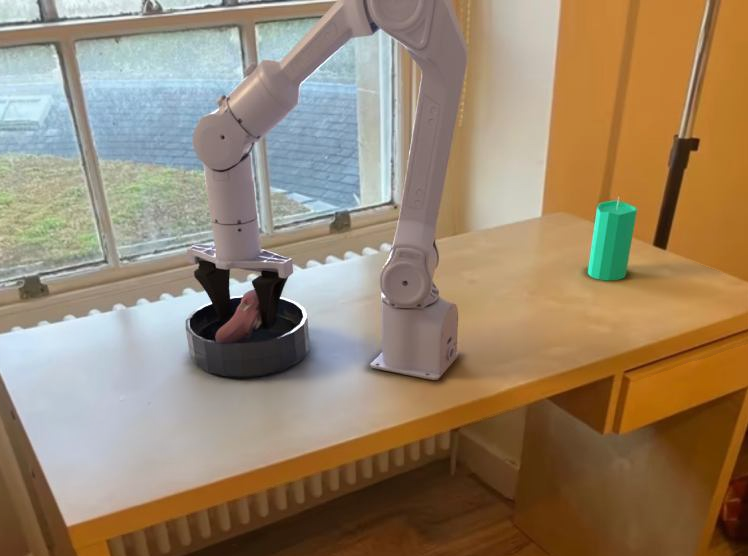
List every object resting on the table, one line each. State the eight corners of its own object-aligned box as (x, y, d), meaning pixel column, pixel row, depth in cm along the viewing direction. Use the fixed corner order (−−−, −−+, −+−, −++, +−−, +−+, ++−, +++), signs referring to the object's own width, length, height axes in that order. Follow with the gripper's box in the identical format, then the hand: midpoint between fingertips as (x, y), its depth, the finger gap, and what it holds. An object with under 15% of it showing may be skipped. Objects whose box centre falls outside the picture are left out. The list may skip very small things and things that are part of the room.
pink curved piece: (243, 360, 105) (261, 316, 100) (211, 343, 104) (227, 298, 100) (265, 328, 112) (283, 286, 108) (236, 313, 112) (252, 270, 107)
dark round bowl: (329, 339, 112) (327, 305, 109) (270, 390, 101) (266, 353, 98) (233, 321, 118) (229, 288, 115) (167, 367, 107) (160, 332, 104)
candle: (586, 266, 132) (596, 190, 125) (623, 267, 131) (636, 191, 124) (589, 280, 127) (600, 202, 120) (628, 281, 126) (641, 202, 119)
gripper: (166, 220, 98) (184, 324, 106) (267, 234, 93) (278, 342, 101) (199, 204, 103) (214, 305, 111) (297, 217, 98) (305, 321, 106)
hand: (246, 321), depth 107 cm, fingers closed on pink curved piece, 6 cm apart
